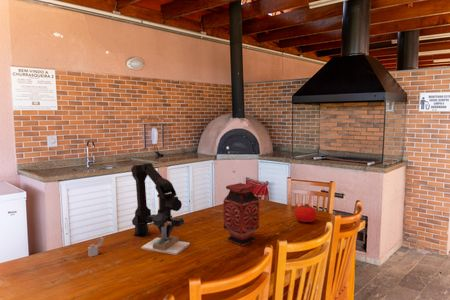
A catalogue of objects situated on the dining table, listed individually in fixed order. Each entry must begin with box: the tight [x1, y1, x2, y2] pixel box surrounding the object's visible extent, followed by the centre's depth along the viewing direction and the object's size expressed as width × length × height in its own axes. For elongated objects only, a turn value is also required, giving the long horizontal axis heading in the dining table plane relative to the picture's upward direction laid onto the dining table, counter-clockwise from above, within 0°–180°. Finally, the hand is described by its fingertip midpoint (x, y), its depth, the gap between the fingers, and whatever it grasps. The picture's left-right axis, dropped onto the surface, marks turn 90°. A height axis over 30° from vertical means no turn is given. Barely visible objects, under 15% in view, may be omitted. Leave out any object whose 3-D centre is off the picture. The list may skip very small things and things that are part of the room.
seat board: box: [141, 235, 191, 256], centre depth 173 cm, size 20×14×3 cm
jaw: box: [154, 239, 165, 245], centre depth 174 cm, size 2×10×2 cm, turn 159°
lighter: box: [87, 236, 105, 258], centre depth 163 cm, size 7×2×8 cm, turn 125°
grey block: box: [160, 224, 171, 241], centre depth 173 cm, size 3×3×7 cm
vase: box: [222, 182, 260, 247], centre depth 180 cm, size 14×14×30 cm
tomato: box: [293, 204, 317, 223], centre depth 214 cm, size 13×12×11 cm
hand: (165, 236), depth 173 cm, fingers closed on grey block, 3 cm apart
